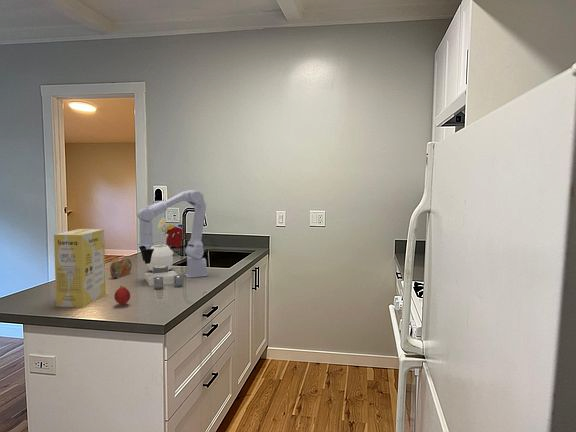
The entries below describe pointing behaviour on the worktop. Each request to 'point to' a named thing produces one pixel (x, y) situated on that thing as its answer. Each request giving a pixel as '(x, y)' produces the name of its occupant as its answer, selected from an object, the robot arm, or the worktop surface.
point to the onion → (122, 295)
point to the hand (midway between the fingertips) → (146, 262)
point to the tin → (120, 268)
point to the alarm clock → (174, 235)
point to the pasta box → (79, 267)
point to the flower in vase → (164, 236)
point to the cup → (161, 257)
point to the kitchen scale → (160, 275)
